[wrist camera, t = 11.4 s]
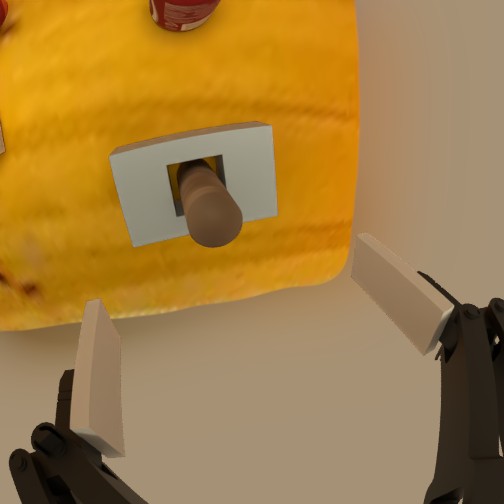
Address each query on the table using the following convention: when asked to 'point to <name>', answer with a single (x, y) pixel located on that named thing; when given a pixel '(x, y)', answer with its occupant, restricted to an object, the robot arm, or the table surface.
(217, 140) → the socket block
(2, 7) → the coffee cup
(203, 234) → the peg
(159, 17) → the soda can
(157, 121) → the table surface
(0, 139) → the small box
